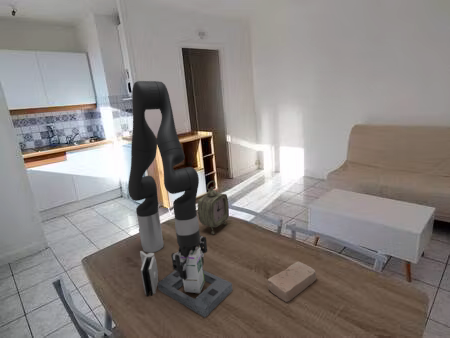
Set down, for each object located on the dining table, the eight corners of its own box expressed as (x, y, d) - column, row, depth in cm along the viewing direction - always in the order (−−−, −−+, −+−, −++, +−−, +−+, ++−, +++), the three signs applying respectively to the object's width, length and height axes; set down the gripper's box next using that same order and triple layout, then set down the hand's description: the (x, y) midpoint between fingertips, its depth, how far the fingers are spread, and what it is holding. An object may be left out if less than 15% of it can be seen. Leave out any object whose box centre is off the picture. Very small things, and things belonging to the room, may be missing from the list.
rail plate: (158, 290, 95) (157, 282, 94) (187, 269, 106) (186, 261, 105) (205, 317, 82) (204, 309, 81) (232, 290, 92) (231, 282, 92)
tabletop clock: (213, 237, 128) (209, 187, 121) (198, 232, 133) (193, 184, 126) (229, 224, 140) (226, 177, 133) (215, 220, 144) (211, 176, 138)
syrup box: (200, 293, 90) (196, 255, 86) (183, 292, 92) (178, 254, 88) (205, 282, 96) (201, 245, 92) (189, 280, 97) (184, 245, 93)
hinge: (143, 274, 105) (139, 251, 102) (157, 270, 106) (154, 247, 104) (144, 297, 92) (140, 272, 90) (161, 293, 94) (157, 268, 91)
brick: (297, 269, 101) (297, 258, 100) (317, 280, 95) (317, 268, 93) (266, 291, 91) (266, 279, 90) (286, 305, 85) (286, 292, 84)
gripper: (194, 217, 95) (199, 258, 100) (162, 235, 84) (169, 279, 89) (210, 222, 91) (214, 264, 95) (178, 241, 80) (185, 288, 84)
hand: (192, 271), depth 92 cm, fingers closed on syrup box, 7 cm apart
